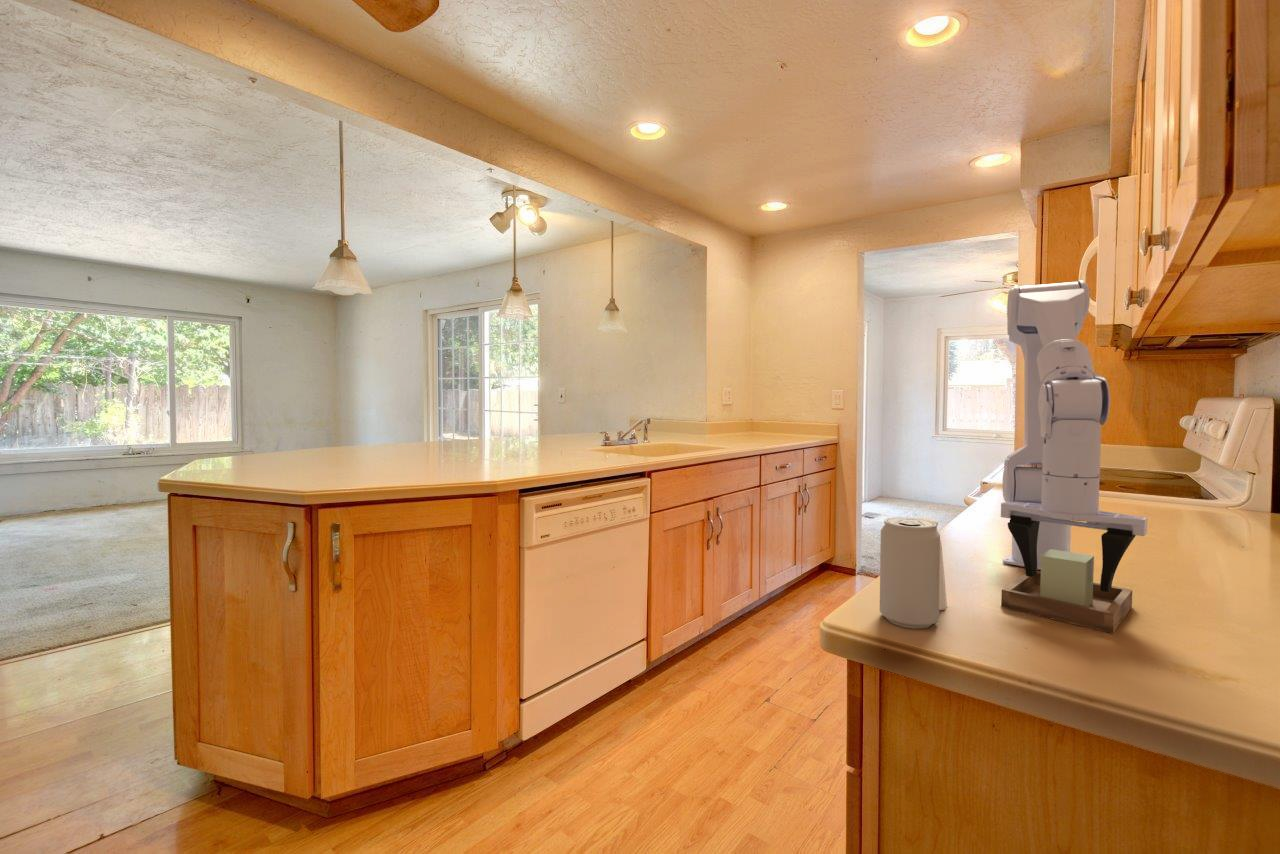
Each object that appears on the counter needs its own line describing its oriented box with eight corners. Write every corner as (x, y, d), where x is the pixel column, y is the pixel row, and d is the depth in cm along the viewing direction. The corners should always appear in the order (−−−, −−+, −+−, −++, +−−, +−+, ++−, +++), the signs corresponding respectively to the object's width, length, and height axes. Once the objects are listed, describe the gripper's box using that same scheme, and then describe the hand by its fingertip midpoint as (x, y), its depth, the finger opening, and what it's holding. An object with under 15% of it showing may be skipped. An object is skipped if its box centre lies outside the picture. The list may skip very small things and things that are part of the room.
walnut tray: (1029, 585, 79) (1029, 570, 79) (1131, 606, 71) (1132, 589, 71) (1001, 606, 71) (1001, 589, 71) (1112, 633, 63) (1113, 614, 63)
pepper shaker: (896, 595, 76) (897, 514, 75) (939, 597, 75) (941, 515, 74) (907, 610, 71) (909, 523, 70) (954, 612, 70) (956, 524, 69)
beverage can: (877, 625, 66) (878, 524, 65) (881, 607, 72) (883, 513, 71) (938, 635, 63) (940, 529, 62) (938, 615, 69) (940, 518, 68)
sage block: (1049, 593, 74) (1050, 549, 74) (1092, 602, 71) (1094, 556, 71) (1039, 602, 71) (1041, 555, 71) (1084, 612, 68) (1085, 563, 68)
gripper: (994, 472, 73) (991, 575, 74) (1141, 484, 62) (1137, 605, 63) (1011, 467, 78) (1008, 564, 79) (1151, 478, 67) (1147, 590, 68)
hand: (1067, 581), depth 71 cm, fingers open, 7 cm apart
